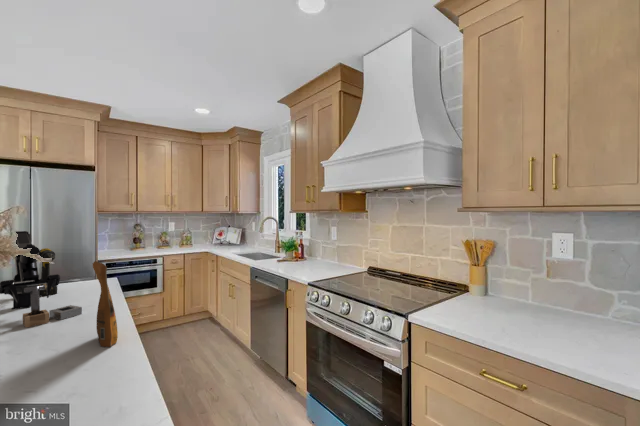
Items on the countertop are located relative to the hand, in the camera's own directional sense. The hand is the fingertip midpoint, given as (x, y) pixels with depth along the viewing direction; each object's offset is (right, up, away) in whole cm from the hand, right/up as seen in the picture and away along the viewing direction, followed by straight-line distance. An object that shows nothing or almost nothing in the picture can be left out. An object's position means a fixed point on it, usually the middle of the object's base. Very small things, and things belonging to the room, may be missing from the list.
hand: (33, 299), depth 127 cm
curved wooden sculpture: (+45, -9, -20) cm, 50 cm away
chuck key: (+4, -8, -3) cm, 10 cm away
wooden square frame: (+5, -8, -4) cm, 10 cm away
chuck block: (+9, -8, +5) cm, 14 cm away
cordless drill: (-29, -9, +38) cm, 49 cm away
